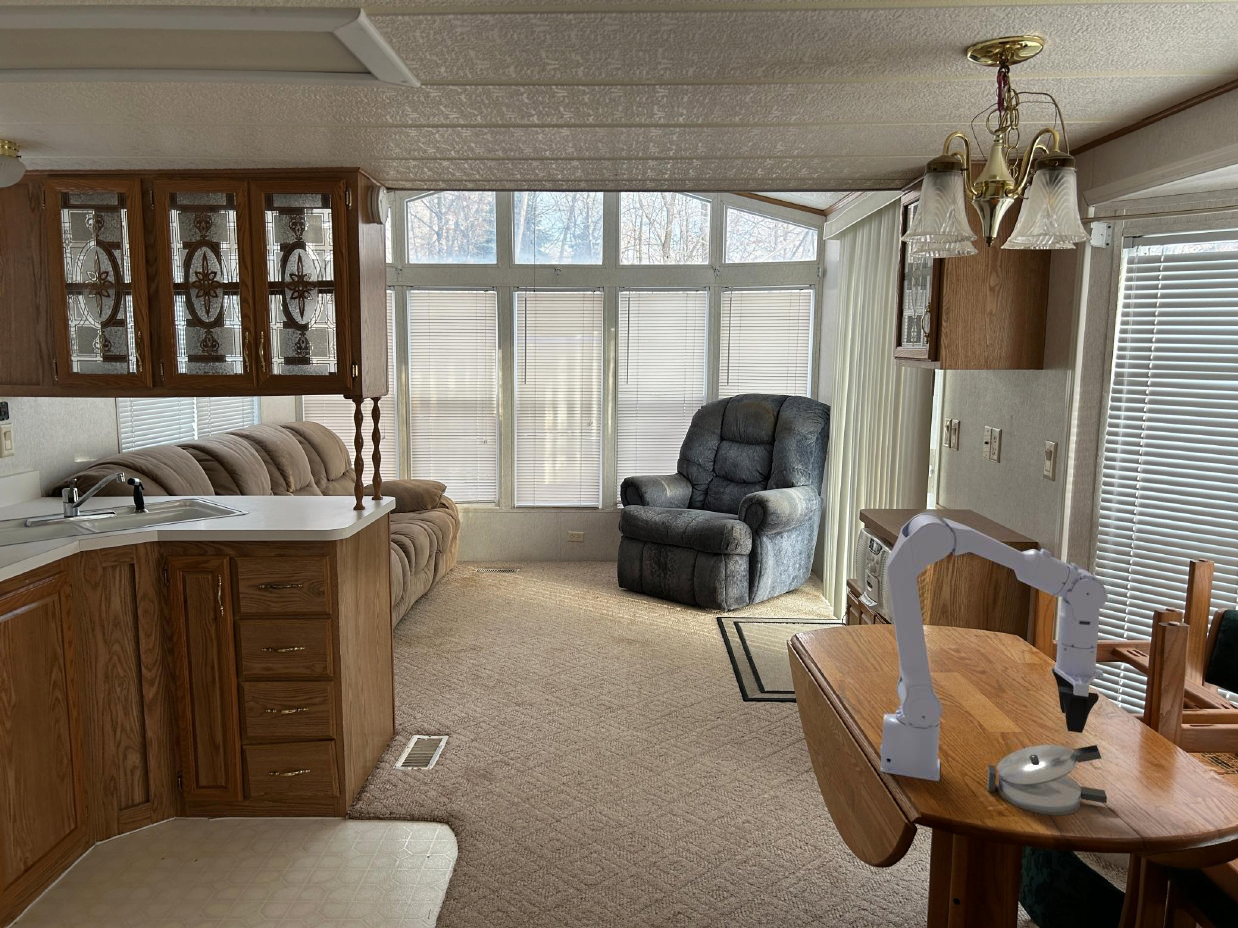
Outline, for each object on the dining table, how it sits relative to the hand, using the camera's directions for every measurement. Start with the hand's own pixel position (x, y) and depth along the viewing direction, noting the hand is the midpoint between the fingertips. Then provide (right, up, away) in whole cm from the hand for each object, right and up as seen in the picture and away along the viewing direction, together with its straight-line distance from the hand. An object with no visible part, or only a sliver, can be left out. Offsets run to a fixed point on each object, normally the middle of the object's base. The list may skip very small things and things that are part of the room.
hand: (1071, 721), depth 142 cm
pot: (-7, -11, -3) cm, 14 cm away
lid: (-6, -5, -5) cm, 10 cm away
